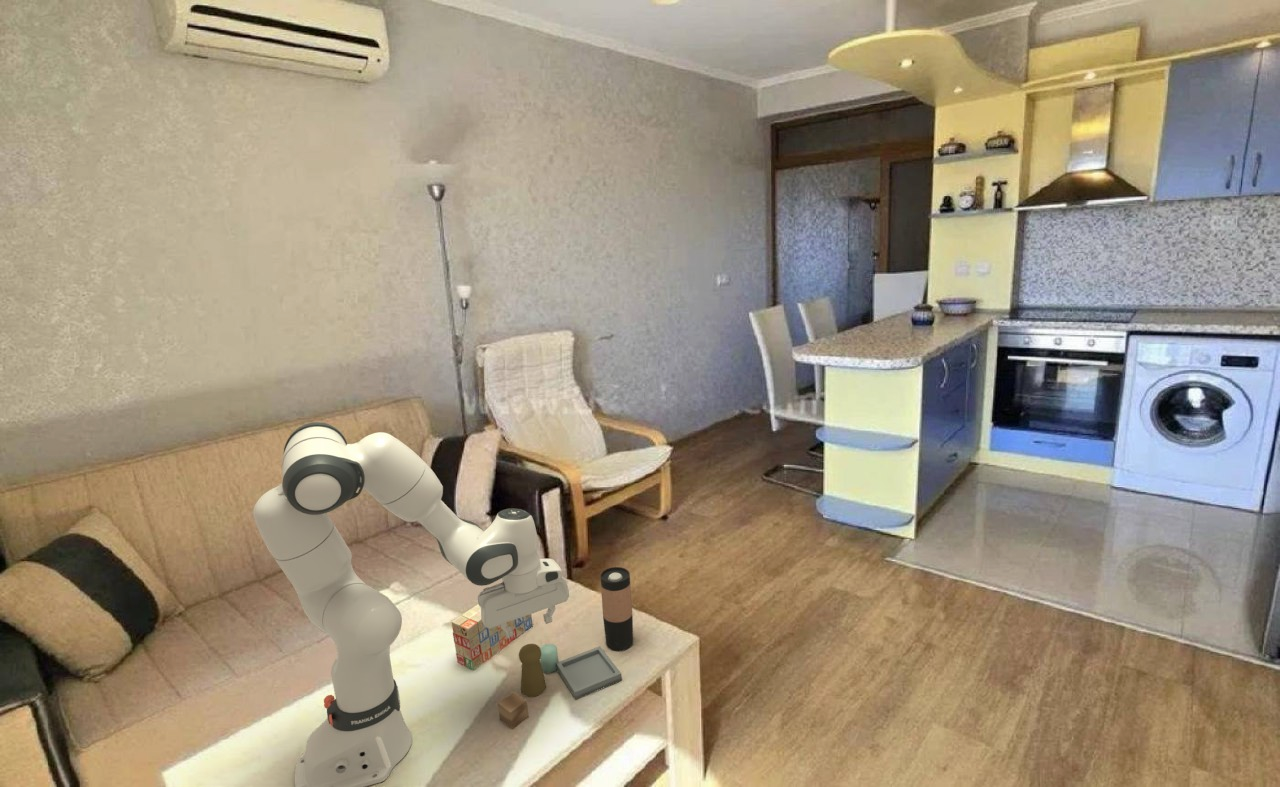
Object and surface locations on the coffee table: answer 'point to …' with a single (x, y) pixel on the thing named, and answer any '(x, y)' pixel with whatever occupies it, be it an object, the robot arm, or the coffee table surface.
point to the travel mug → (617, 608)
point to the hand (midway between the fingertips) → (529, 628)
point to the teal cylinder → (549, 658)
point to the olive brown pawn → (531, 671)
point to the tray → (588, 672)
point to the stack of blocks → (482, 637)
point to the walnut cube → (513, 710)
